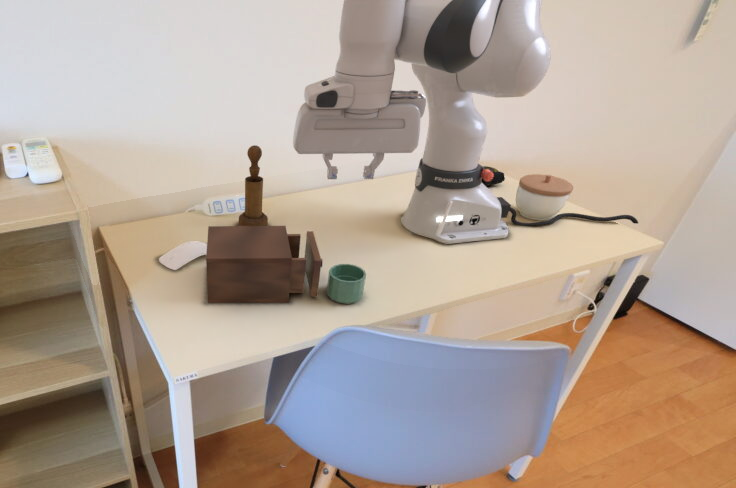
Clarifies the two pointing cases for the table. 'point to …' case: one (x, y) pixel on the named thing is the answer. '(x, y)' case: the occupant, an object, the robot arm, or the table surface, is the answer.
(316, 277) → the drawer
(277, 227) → the cabinet
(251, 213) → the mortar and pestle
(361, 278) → the cylindrical container
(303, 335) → the table surface
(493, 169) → the tape measure
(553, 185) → the trinket box
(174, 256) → the white curved flat piece
